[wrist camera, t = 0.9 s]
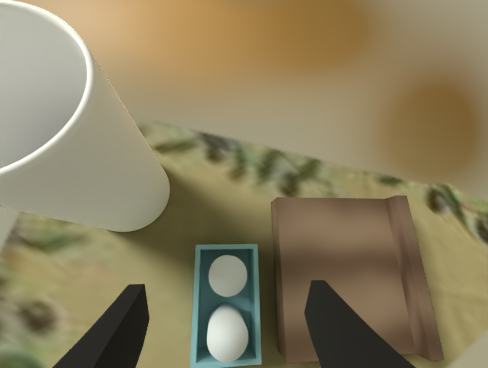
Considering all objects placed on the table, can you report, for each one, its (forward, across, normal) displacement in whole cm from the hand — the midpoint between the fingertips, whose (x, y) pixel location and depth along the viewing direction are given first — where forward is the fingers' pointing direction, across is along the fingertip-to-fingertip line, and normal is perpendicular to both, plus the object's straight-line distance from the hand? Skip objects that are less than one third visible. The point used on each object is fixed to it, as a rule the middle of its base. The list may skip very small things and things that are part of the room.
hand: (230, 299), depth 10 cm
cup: (+15, +10, +2) cm, 18 cm away
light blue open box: (+9, 0, +10) cm, 13 cm away
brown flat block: (+10, -12, +8) cm, 18 cm away
